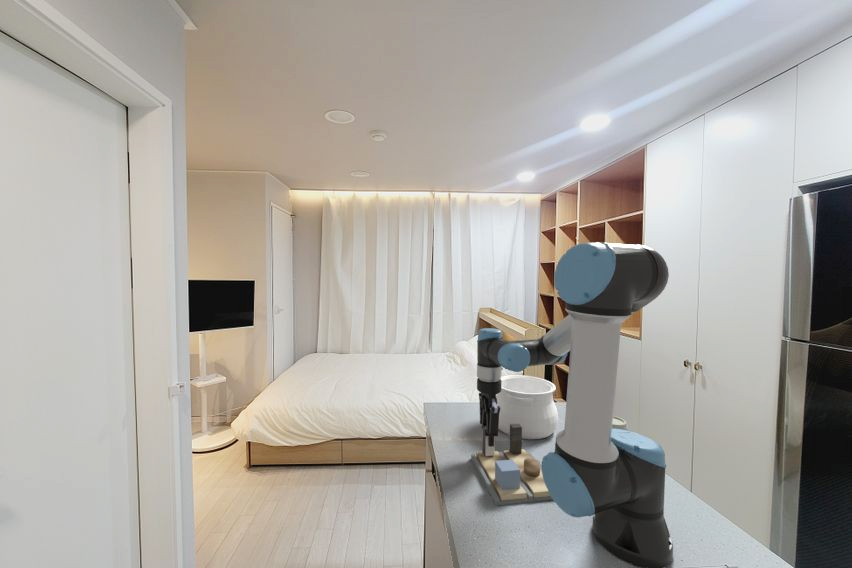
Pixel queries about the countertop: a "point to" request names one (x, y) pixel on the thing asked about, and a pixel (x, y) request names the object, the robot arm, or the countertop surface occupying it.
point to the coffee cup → (619, 423)
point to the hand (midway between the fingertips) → (488, 452)
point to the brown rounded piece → (531, 467)
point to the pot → (527, 406)
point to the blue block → (507, 474)
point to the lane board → (493, 492)
